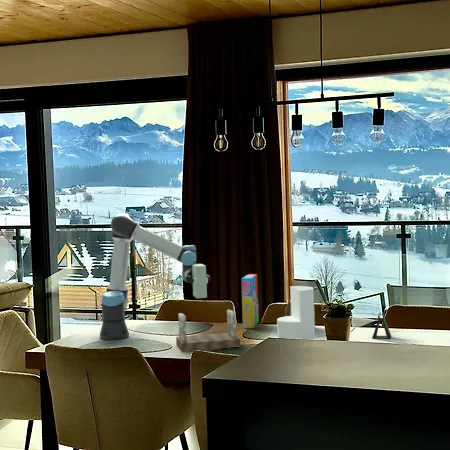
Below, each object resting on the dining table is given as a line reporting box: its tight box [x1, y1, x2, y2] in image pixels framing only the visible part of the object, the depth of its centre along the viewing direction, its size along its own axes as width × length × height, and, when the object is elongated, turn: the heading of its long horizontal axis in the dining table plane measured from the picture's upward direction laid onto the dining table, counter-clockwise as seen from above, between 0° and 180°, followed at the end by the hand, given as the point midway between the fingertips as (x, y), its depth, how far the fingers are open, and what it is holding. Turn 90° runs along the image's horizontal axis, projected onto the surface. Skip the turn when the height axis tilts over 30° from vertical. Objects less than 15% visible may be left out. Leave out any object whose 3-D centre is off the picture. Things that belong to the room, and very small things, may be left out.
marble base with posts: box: [175, 309, 241, 353], centre depth 362 cm, size 28×18×16 cm, turn 102°
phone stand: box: [371, 312, 392, 340], centre depth 367 cm, size 9×6×12 cm, turn 75°
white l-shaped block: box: [276, 285, 316, 340], centre depth 349 cm, size 17×17×28 cm
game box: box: [241, 273, 260, 329], centre depth 413 cm, size 21×6×27 cm, turn 168°
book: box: [192, 263, 208, 299], centre depth 380 cm, size 5×11×16 cm, turn 13°
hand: (201, 280), depth 375 cm, fingers closed on book, 5 cm apart
